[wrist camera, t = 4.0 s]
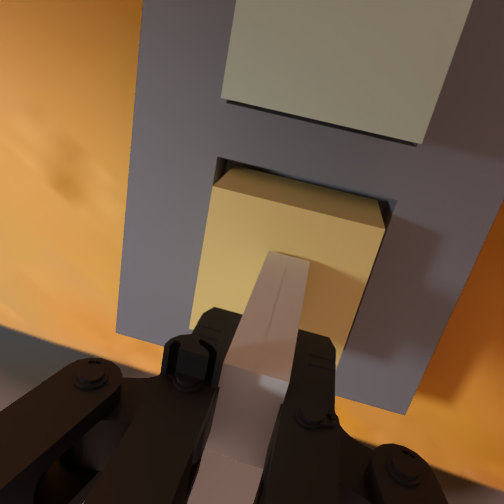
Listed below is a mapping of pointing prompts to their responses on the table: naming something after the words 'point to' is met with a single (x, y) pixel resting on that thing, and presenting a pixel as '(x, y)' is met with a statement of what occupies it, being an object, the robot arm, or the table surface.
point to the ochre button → (288, 246)
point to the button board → (317, 173)
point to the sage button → (345, 60)
